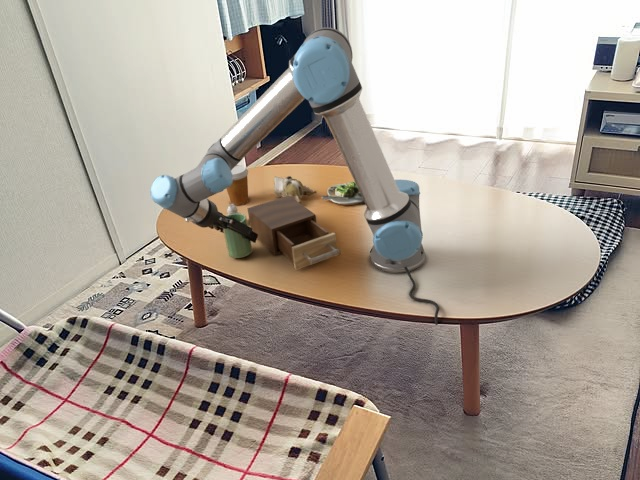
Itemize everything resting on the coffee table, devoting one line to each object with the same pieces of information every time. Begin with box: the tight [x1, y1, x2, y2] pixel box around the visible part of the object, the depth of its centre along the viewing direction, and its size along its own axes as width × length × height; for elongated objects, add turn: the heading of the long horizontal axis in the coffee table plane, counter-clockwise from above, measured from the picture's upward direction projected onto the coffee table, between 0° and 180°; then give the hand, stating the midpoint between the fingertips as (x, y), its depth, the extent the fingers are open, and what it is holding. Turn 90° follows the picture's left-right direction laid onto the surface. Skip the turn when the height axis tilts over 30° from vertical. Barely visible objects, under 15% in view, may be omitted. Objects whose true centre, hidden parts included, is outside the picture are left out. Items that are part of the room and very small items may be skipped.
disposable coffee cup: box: [225, 164, 249, 206], centre depth 198 cm, size 10×10×12 cm
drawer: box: [275, 219, 341, 271], centre depth 163 cm, size 23×14×7 cm, turn 29°
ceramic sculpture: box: [273, 175, 318, 204], centre depth 197 cm, size 11×9×15 cm
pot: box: [222, 212, 253, 259], centre depth 166 cm, size 7×7×11 cm
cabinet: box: [246, 195, 317, 256], centre depth 175 cm, size 18×15×9 cm
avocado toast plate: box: [321, 180, 365, 206], centre depth 195 cm, size 19×18×5 cm
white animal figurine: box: [226, 202, 242, 215], centre depth 185 cm, size 5×7×8 cm
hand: (245, 236), depth 170 cm, fingers closed on pot, 7 cm apart
